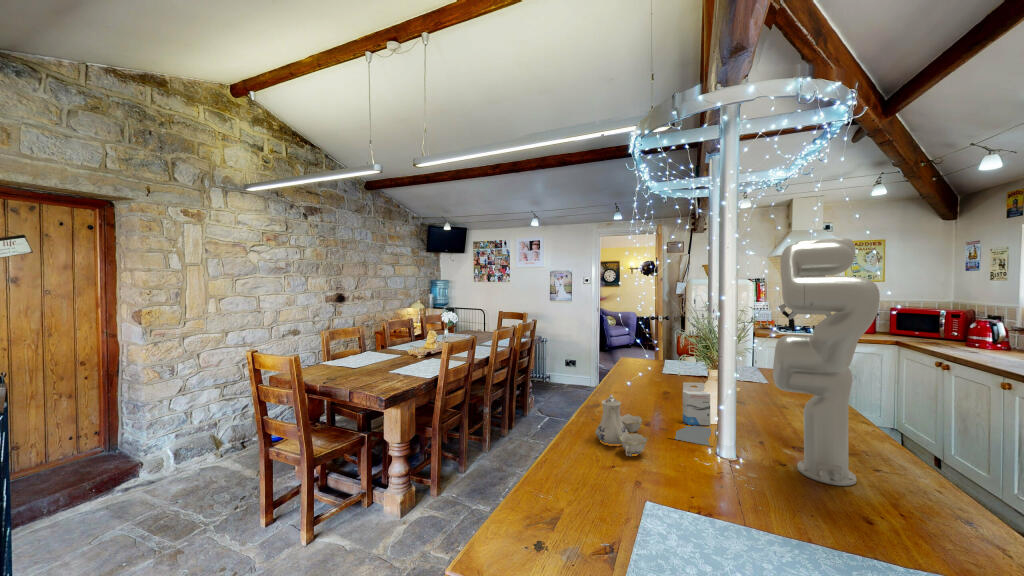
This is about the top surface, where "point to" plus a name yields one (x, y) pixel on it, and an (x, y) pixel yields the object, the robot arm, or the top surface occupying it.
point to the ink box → (696, 404)
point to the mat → (694, 434)
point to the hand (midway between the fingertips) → (810, 331)
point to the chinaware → (620, 428)
